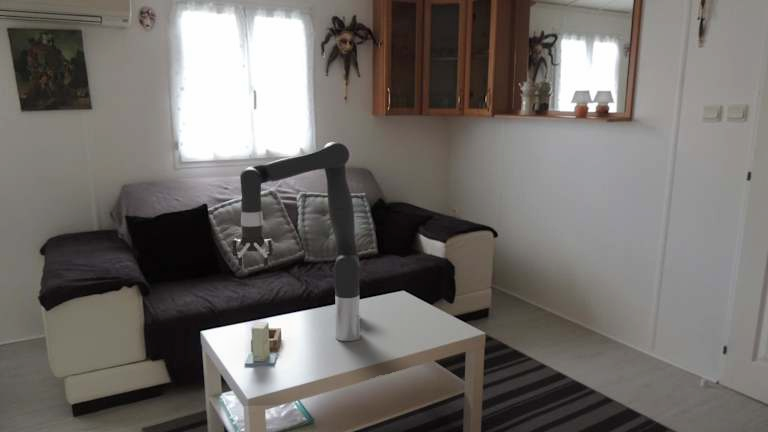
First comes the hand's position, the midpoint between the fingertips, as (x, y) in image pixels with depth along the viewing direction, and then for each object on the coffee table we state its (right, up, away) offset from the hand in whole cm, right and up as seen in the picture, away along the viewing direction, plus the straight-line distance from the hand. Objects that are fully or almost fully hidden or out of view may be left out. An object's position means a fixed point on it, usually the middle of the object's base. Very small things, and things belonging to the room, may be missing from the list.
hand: (253, 267), depth 204 cm
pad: (+5, -32, -8) cm, 33 cm away
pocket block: (+4, -30, +5) cm, 30 cm away
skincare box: (+5, -31, -8) cm, 33 cm away
